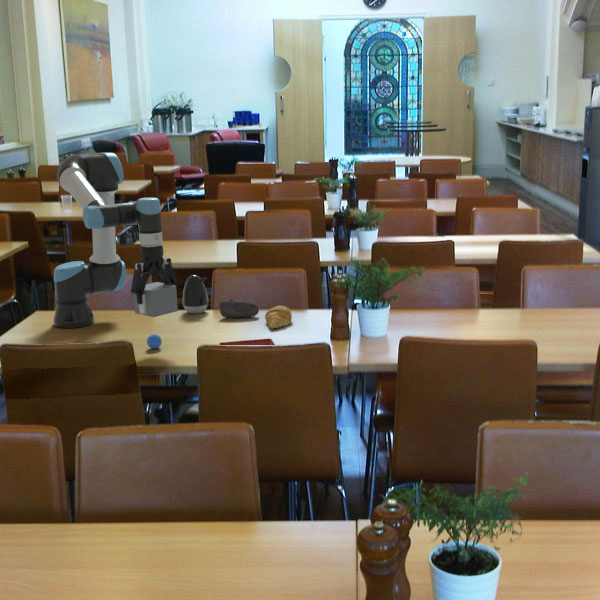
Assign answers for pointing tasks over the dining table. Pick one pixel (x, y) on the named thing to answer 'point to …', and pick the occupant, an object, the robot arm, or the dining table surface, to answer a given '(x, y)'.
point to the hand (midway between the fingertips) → (156, 309)
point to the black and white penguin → (195, 295)
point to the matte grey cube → (158, 299)
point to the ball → (154, 341)
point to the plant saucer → (250, 342)
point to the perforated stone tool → (238, 309)
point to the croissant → (278, 316)
